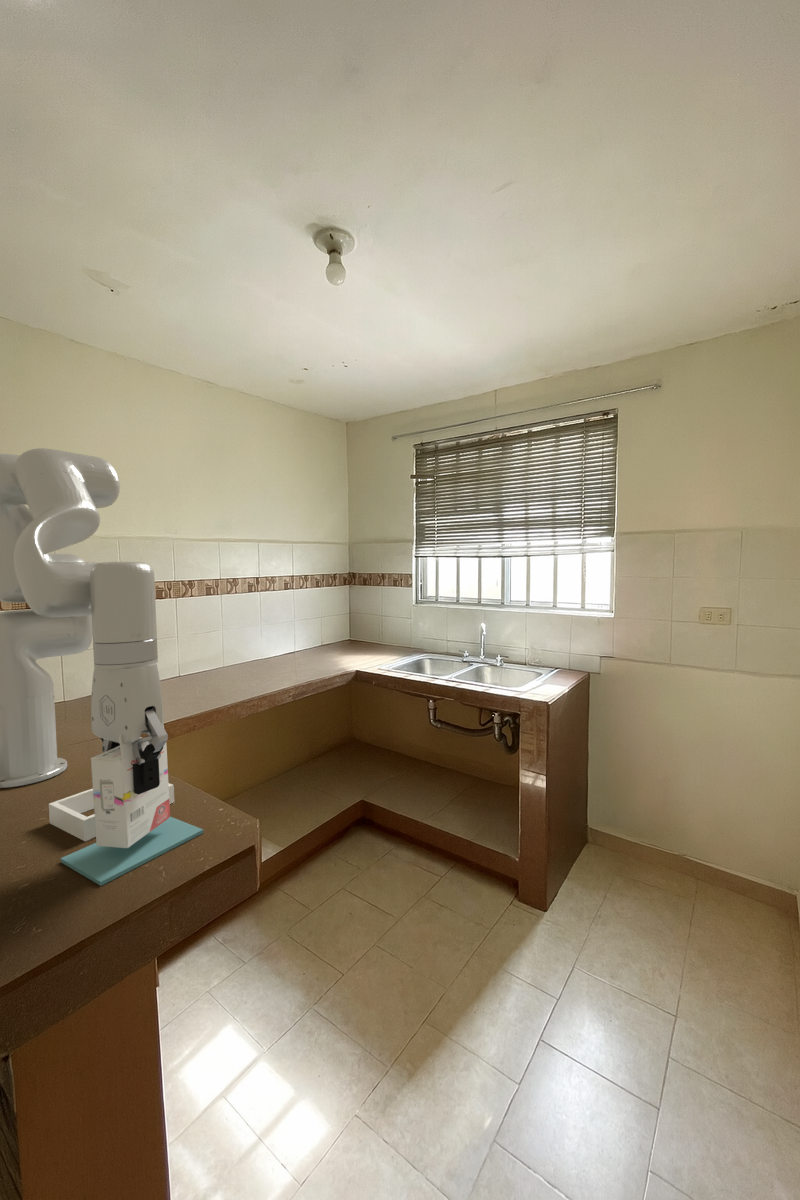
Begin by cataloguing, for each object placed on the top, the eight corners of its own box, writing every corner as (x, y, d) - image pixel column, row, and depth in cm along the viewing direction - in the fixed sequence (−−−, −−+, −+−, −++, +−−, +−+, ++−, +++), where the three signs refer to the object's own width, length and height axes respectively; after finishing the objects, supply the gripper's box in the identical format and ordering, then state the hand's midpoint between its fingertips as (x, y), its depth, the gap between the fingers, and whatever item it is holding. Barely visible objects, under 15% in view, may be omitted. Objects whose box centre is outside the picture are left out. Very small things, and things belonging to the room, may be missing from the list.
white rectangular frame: (49, 823, 74) (48, 803, 74) (138, 789, 85) (137, 772, 85) (85, 841, 68) (83, 820, 68) (174, 802, 80) (173, 784, 79)
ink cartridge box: (141, 815, 71) (136, 715, 71) (171, 817, 70) (167, 716, 70) (93, 846, 63) (87, 734, 62) (126, 850, 62) (121, 735, 61)
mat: (60, 862, 63) (60, 858, 63) (162, 816, 75) (162, 813, 75) (100, 886, 58) (100, 881, 58) (203, 832, 70) (203, 829, 70)
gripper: (64, 653, 67) (70, 782, 68) (134, 662, 58) (141, 811, 58) (119, 646, 73) (125, 764, 74) (191, 653, 64) (196, 787, 65)
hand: (132, 783), depth 66 cm, fingers closed on ink cartridge box, 6 cm apart
